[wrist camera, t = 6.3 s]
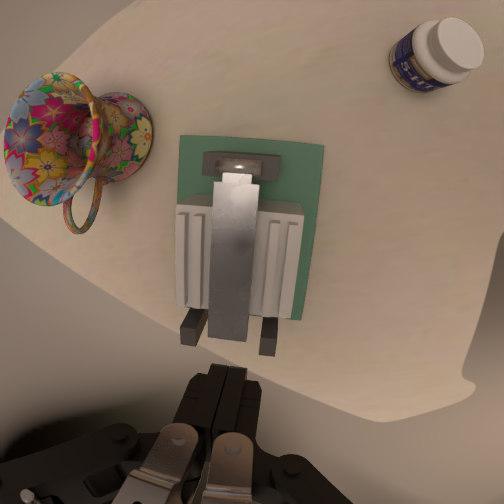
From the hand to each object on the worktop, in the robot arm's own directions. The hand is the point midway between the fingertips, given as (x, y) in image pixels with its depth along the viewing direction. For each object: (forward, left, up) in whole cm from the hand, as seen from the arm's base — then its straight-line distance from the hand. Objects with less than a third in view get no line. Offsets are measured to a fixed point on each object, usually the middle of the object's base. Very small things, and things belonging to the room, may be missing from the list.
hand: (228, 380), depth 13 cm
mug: (+14, -9, -17) cm, 24 cm away
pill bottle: (-13, -19, -17) cm, 29 cm away
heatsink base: (+1, -2, -17) cm, 17 cm away
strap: (+1, -2, -10) cm, 10 cm away
